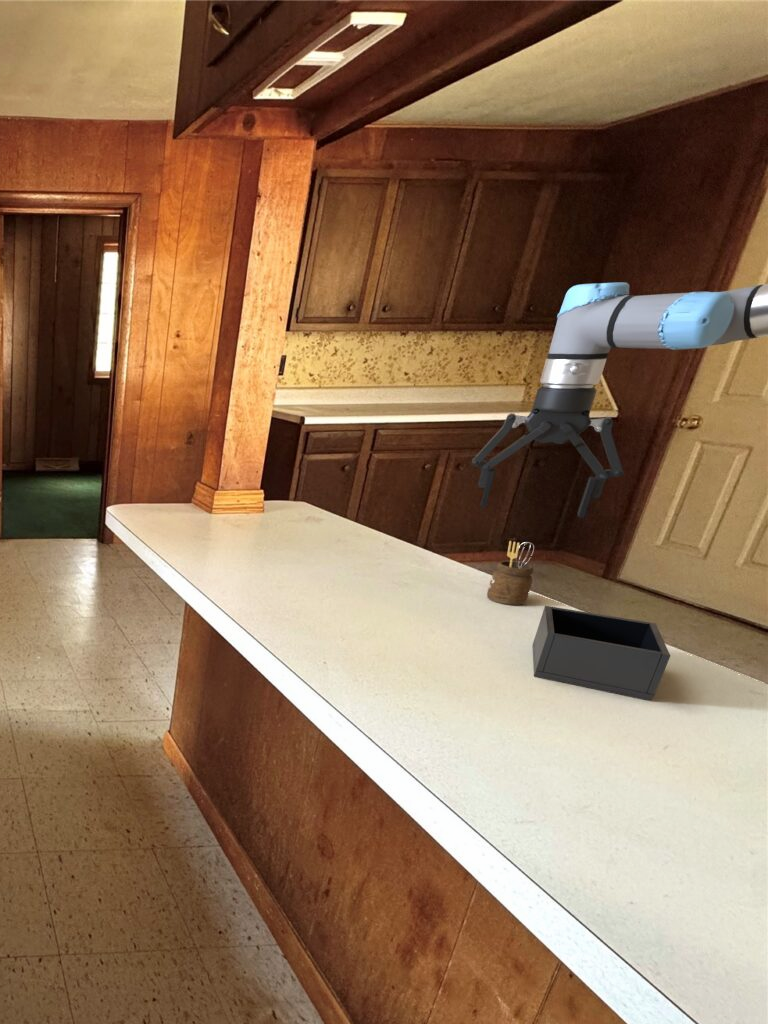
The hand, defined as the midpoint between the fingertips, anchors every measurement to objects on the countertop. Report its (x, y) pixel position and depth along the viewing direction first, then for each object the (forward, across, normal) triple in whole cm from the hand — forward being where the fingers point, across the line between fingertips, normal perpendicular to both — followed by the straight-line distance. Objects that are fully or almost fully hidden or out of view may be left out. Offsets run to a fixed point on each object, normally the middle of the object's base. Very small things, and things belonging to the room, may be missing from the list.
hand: (530, 510), depth 117 cm
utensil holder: (+17, 0, 0) cm, 17 cm away
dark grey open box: (+17, +10, -27) cm, 34 cm away
